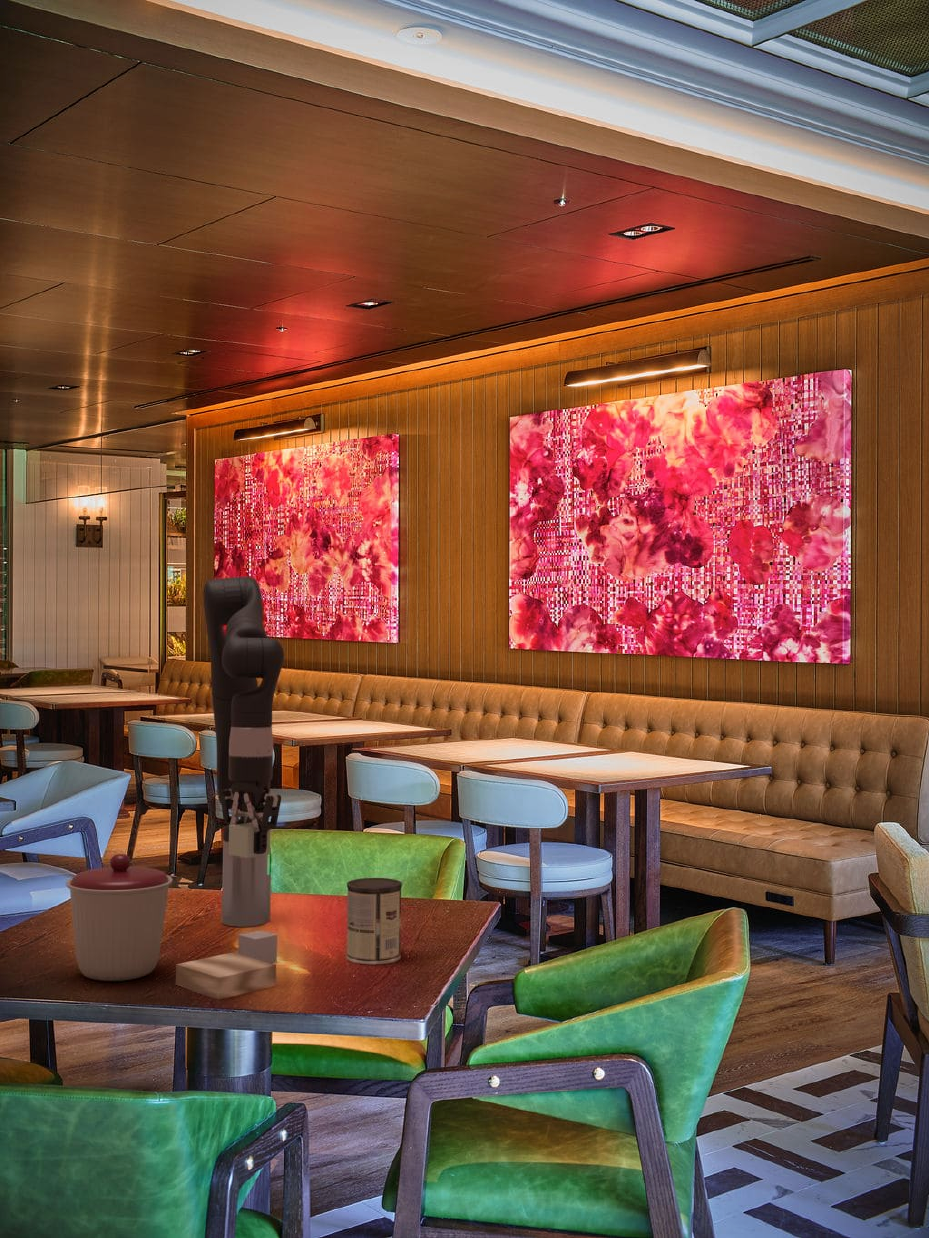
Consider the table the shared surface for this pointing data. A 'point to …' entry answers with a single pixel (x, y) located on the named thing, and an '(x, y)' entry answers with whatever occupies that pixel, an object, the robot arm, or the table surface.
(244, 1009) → the table surface
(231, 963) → the birch block
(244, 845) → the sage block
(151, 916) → the canister
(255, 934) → the grey block
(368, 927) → the coffee can
